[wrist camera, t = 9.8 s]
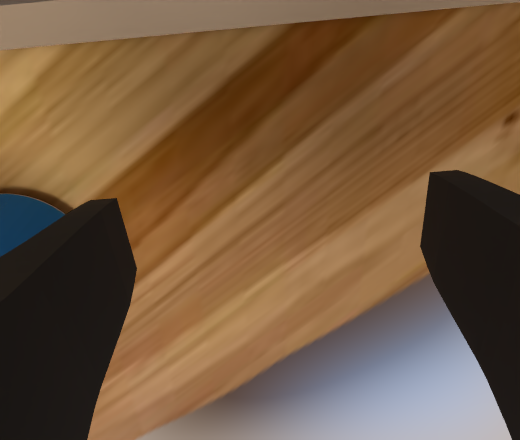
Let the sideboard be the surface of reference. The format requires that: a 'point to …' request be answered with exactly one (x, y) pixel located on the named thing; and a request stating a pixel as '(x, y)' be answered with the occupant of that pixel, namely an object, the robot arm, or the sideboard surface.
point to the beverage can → (23, 219)
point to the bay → (179, 16)
